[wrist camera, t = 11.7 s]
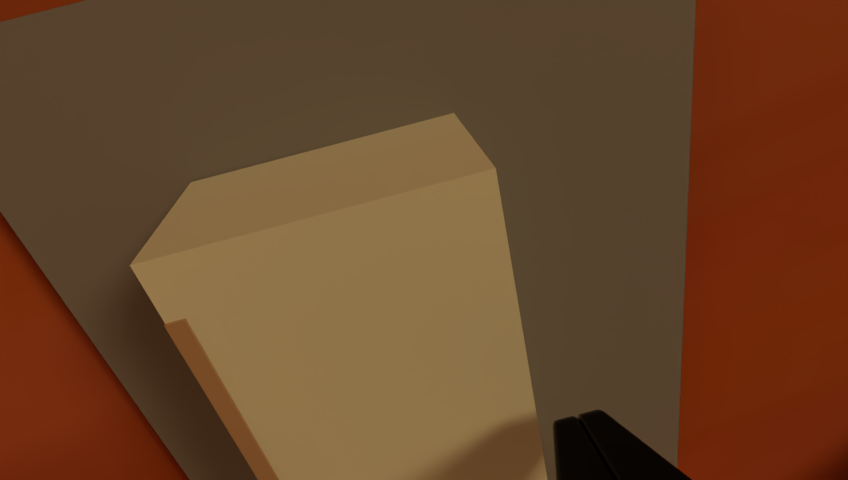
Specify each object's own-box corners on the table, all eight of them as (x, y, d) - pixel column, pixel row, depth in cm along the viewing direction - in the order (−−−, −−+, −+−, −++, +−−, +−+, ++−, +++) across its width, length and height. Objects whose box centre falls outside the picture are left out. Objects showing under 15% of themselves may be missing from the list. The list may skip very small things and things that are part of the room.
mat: (680, -148, 8) (701, -156, 8) (666, 465, 16) (676, 482, 16) (-85, 45, 8) (-114, 51, 8) (268, 568, 16) (266, 588, 16)
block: (496, 169, 7) (128, 267, 7) (563, 571, 12) (350, 630, 11) (453, 112, 9) (191, 181, 9) (522, 457, 14) (349, 504, 14)
